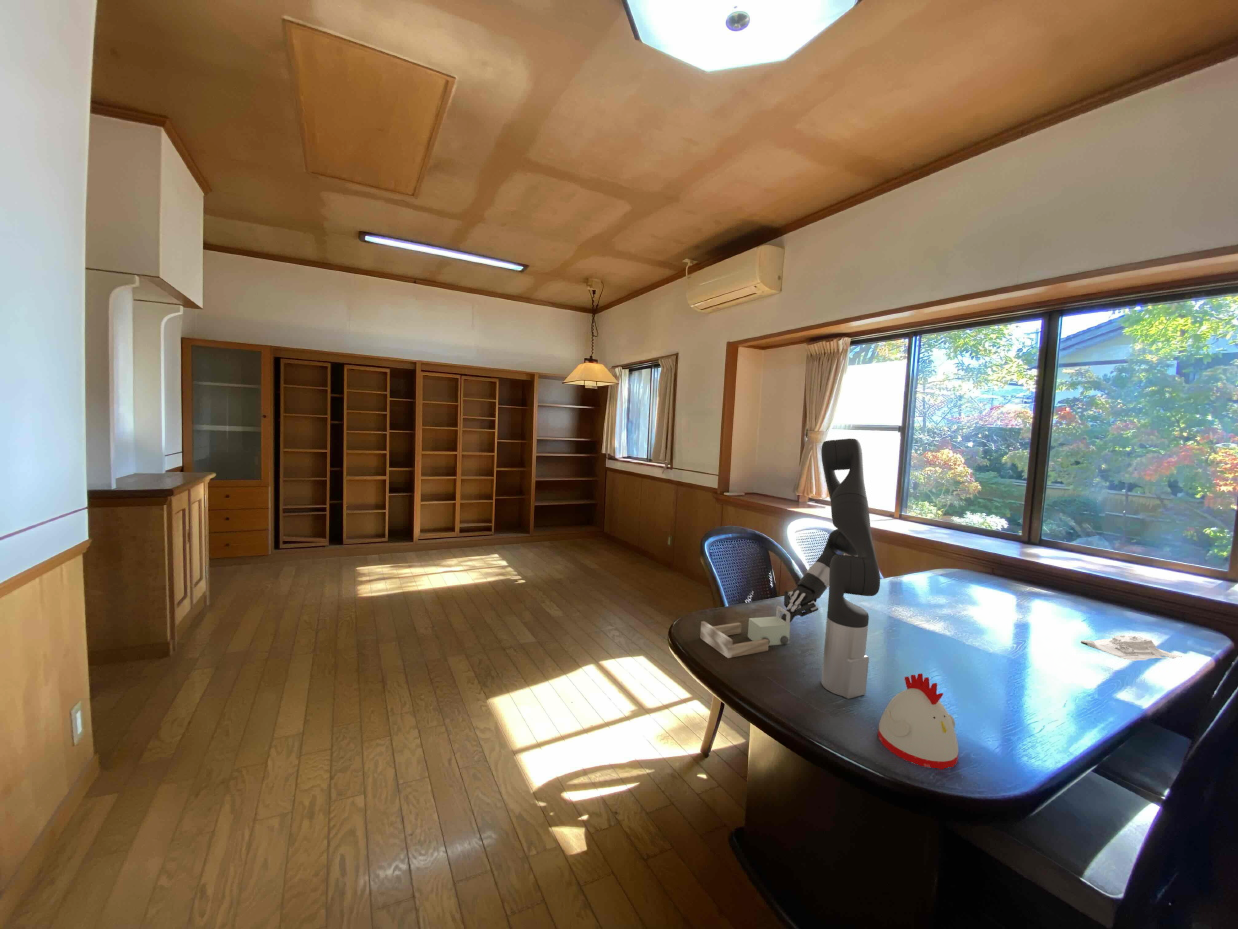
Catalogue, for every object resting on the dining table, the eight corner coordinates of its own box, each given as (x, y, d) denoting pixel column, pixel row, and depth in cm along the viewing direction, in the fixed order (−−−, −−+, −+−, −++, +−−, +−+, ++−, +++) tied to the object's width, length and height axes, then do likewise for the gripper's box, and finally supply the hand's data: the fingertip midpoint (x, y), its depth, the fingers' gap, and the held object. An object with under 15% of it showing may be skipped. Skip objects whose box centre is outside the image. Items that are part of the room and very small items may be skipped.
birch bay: (768, 650, 140) (769, 633, 140) (727, 658, 134) (729, 640, 134) (738, 631, 152) (739, 616, 152) (700, 638, 146) (701, 621, 146)
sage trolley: (790, 645, 145) (792, 614, 144) (760, 647, 142) (762, 616, 141) (775, 634, 152) (777, 604, 152) (746, 636, 149) (748, 606, 149)
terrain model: (1076, 648, 157) (1077, 633, 157) (1113, 636, 166) (1115, 622, 166) (1147, 672, 142) (1149, 656, 142) (1184, 658, 151) (1186, 642, 151)
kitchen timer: (917, 774, 91) (925, 697, 90) (863, 729, 105) (869, 662, 103) (974, 764, 95) (983, 690, 94) (915, 722, 108) (921, 656, 107)
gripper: (795, 566, 160) (763, 607, 155) (827, 578, 148) (794, 623, 143) (806, 581, 162) (774, 621, 158) (839, 594, 150) (806, 638, 146)
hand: (784, 622), depth 151 cm, fingers closed
